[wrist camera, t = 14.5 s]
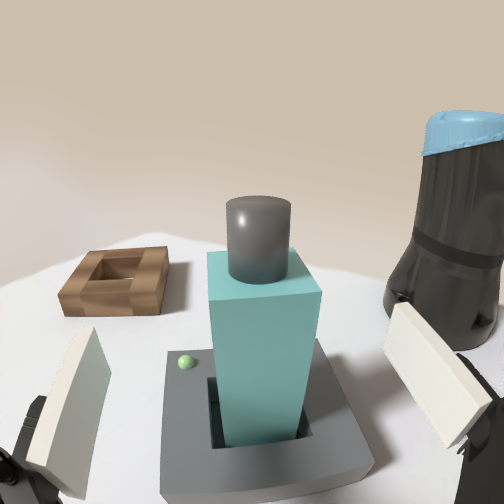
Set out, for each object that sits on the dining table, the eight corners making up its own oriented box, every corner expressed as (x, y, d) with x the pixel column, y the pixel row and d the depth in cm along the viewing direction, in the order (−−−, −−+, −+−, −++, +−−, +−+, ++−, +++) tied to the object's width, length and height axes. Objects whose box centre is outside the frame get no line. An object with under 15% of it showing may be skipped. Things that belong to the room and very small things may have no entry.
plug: (221, 410, 20) (203, 193, 14) (279, 403, 21) (295, 190, 14) (227, 458, 16) (203, 223, 10) (292, 450, 17) (330, 218, 10)
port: (173, 376, 23) (166, 344, 22) (312, 363, 25) (318, 331, 23) (171, 507, 13) (156, 489, 11) (361, 480, 14) (379, 456, 13)
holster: (93, 269, 41) (89, 251, 39) (169, 265, 42) (167, 246, 41) (64, 316, 30) (57, 294, 29) (159, 314, 31) (155, 291, 30)
